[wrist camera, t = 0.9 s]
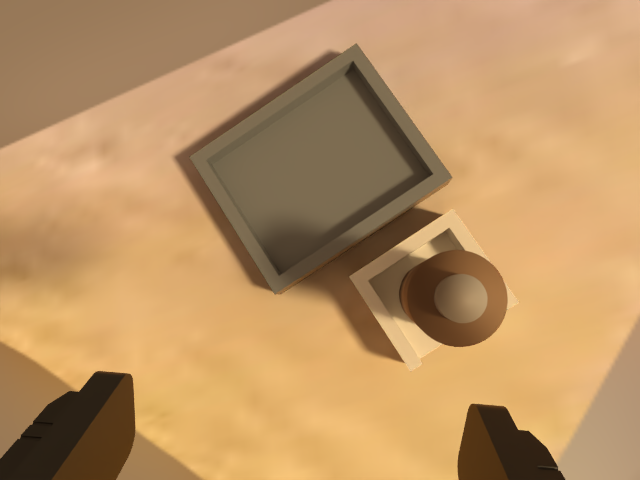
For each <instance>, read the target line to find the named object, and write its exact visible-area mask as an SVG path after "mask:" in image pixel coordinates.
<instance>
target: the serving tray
mask: <svg viewBox="0 0 640 480" xmlns="http://www.w3.org/2000/svg"><path fill="white" fill-rule="evenodd" d="M190 159H191V161H192V162H193V164H194V165H195V167H196V169H197V170H198V172H199V173H200V175H201V177H202V178H203V180H204V181H205V183H206V185H207V186H208V188H209V190H210V191H211V193H212V194H213V196H214V198H215V199H216V201H217V202H218V204H219V206H220V207H221V209H222V210H223V212H224V214H225V215H226V217H227V218H228V220H229V222H230V223H231V225H232V227H233V228H234V230H235V231H236V233H237V235H238V236H239V238H240V239H241V241H242V243H243V244H244V246H245V247H246V249H247V251H248V252H249V254H250V255H251V257H252V259H253V260H254V262H255V263H256V265H257V267H258V268H259V270H260V272H261V273H262V275H263V276H264V278H265V280H266V281H267V283H268V284H269V286H270V288H271V289H272V291H273V292H274V294H282V293H283V292H285V291H286V290H288V289H289V288H291V287H292V286H294V285H295V284H297V283H298V282H300V281H302V280H303V279H305V278H306V277H308V276H309V275H311V274H312V273H314V272H315V271H317V270H318V269H320V268H321V267H323V266H324V265H326V264H327V263H329V262H330V261H332V260H333V259H335V258H337V257H338V256H340V255H341V254H343V253H344V252H346V251H347V250H349V249H350V248H352V247H353V246H355V245H356V244H358V243H359V242H361V241H362V240H364V239H365V238H367V237H368V236H370V235H372V234H373V233H375V232H376V231H378V230H379V229H381V228H382V227H384V226H385V225H387V224H388V223H390V222H391V221H393V220H394V219H396V218H397V217H399V216H400V215H402V214H404V213H405V212H407V211H408V210H410V209H411V208H413V207H414V206H416V205H417V204H419V203H420V202H422V201H423V200H425V199H426V198H428V197H429V196H431V195H432V194H434V193H435V192H437V191H439V190H440V189H442V188H443V187H445V186H446V185H448V183H449V182H450V180H451V179H452V176H451V175H450V173H449V172H448V170H447V169H446V168H445V166H444V165H443V163H442V162H441V161H440V159H439V158H438V156H437V155H436V154H435V152H434V151H433V149H432V148H431V147H430V145H429V144H428V142H427V141H426V140H425V138H424V137H423V135H422V134H421V133H420V131H419V130H418V128H417V127H416V126H415V124H414V123H413V121H412V120H411V119H410V117H409V116H408V114H407V113H406V112H405V110H404V109H403V107H402V106H401V105H400V103H399V102H398V100H397V99H396V98H395V96H394V95H393V93H392V92H391V91H390V89H389V88H388V86H387V85H386V84H385V82H384V81H383V79H382V78H381V77H380V75H379V74H378V72H377V71H376V70H375V68H374V67H373V65H372V64H371V63H370V61H369V60H368V58H367V57H366V56H365V54H364V53H363V51H362V50H361V49H360V47H359V46H358V44H357V43H356V44H355V45H353V46H352V47H350V48H349V49H347V50H346V51H344V52H343V53H342V54H340V55H339V56H337V57H336V58H334V59H333V60H331V61H330V62H328V63H327V64H325V65H324V66H322V67H321V68H319V69H318V70H316V71H315V72H314V73H312V74H311V75H309V76H308V77H306V78H305V79H303V80H302V81H300V82H299V83H297V84H296V85H294V86H293V87H291V88H290V89H289V90H287V91H286V92H284V93H283V94H281V95H280V96H278V97H277V98H275V99H274V100H272V101H271V102H269V103H268V104H266V105H265V106H263V107H262V108H261V109H259V110H258V111H256V112H255V113H253V114H252V115H250V116H249V117H247V118H246V119H244V120H243V121H241V122H240V123H238V124H237V125H236V126H234V127H233V128H231V129H230V130H228V131H227V132H225V133H224V134H222V135H221V136H219V137H218V138H216V139H215V140H213V141H212V142H210V143H209V144H208V145H206V146H205V147H203V148H202V149H200V150H199V151H197V152H196V153H194V154H193V155H191V156H190Z"/></svg>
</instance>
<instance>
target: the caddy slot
mask: <svg viewBox="0 0 640 480" xmlns="http://www.w3.org/2000/svg"><path fill="white" fill-rule="evenodd" d="M450 250H464V251H469V252H473V253H475V254H478V255H480V256H482V257H483V258H485V259H486V260H488V261H489V262H490V263H491V261H490V260H489V259H488V257H487V256H486V254H485V253H484V251H483V250H482V249H481V247H480V246H479V244H478V243H477V242H476V240H475V239H474V237H473V236H472V235H471V233H470V232H469V230H468V229H467V227H466V226H465V225H464V223H463V222H462V220H461V219H460V218H459V216H458V215H457V213H456V212H455V210H454V209H451V210H450V211H448V212H447V213H445V214H444V215H442V216H441V217H439V218H438V219H436V220H434V221H433V222H431V223H430V224H428V225H427V226H425V227H424V228H422V229H421V230H419V231H418V232H416V233H415V234H413V235H412V236H410V237H408V238H407V239H405V240H404V241H402V242H401V243H399V244H398V245H396V246H395V247H393V248H392V249H390V250H389V251H387V252H386V253H384V254H382V255H381V256H379V257H378V258H376V259H375V260H373V261H372V262H370V263H369V264H367V265H366V266H364V267H363V268H361V269H360V270H358V271H356V272H355V273H353V274H352V275H350V276H349V278H350V279H351V281H352V282H353V284H354V285H355V287H356V289H357V290H358V292H359V293H360V295H361V296H362V298H363V299H364V301H365V302H366V304H367V305H368V307H369V308H370V310H371V312H372V313H373V315H374V316H375V318H376V319H377V321H378V322H379V324H380V325H381V327H382V328H383V330H384V331H385V333H386V335H387V336H388V338H389V339H390V341H391V342H392V344H393V345H394V347H395V348H396V350H397V351H398V353H399V354H400V356H401V358H402V359H403V361H404V362H405V364H406V365H407V367H408V368H409V370H410V371H413V370H414V369H416V368H418V367H419V366H421V365H422V362H421V360H420V359H421V358H422V357H424V356H425V355H427V354H428V353H430V352H431V351H433V350H435V349H436V348H438V347H439V346H441V345H442V343H439V342H437V341H435V340H433V339H432V338H430V337H429V336H428V335H426V334H425V333H424V332H423V331H422V330H421V329H420V328H419V327H418V326H417V325H416V324H415V323H414V322H413V321H412V320H411V319H410V318H409V317H408V316H407V315H406V313H405V312H404V310H403V309H402V306H401V303H400V298H399V290H400V285H401V282H402V280H403V278H404V276H405V275H406V274H407V272H408V271H410V270H411V269H412V268H413V267H415V266H417V265H418V264H420V263H422V262H424V261H425V260H427V259H429V258H431V257H432V256H434V255H436V254H439V253H441V252H445V251H450ZM491 264H492V263H491ZM492 265H493V264H492ZM503 281H504V280H503ZM504 283H505V281H504ZM505 286H506V289H507V297H508V303H507V310H508V309H510V308H511V307H513V306H515V305H516V304H518V303H519V301H518V300H517V298H516V297H515V295H514V294H513V293H512V291H511V290H510V288H509V287H508V285H507V284H506V283H505Z"/></svg>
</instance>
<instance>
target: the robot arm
mask: <svg viewBox="0 0 640 480" xmlns="http://www.w3.org/2000/svg"><path fill="white" fill-rule="evenodd" d="M134 437H135V410H134V389H133V378H132V376H131V374H127V373H115V372H103V371H97V372H95V373H94V374H93V375H92V377H91V378H90V379H89V380H88V381H87V383H86V384H85V385H84V386H83V388H82V389H81V390H80V391H79V392H74V391H69V392H67V393H66V394H64V395H62V396H61V397H59V398H58V399H56V400H55V401H53V402H52V403H50V404H48V405H47V406H46V407H45V409H44V410H43V411H42V412H41V413H40V414H39V416H38V417H37V418H36V419H35V420H34V421H33V424H32V425H30V426H29V427H28V428H27V429H26V430H25V432H24V433H23V434H22V435H21V438H20V439H17V441H16V442H15V443H14V444H13V445H12V446H11V447H10V449H9V450H8V451H7V452H6V453H5V454H4V455H3V457H2V458H1V459H0V480H116V478H117V477H118V475H119V473H120V471H121V469H122V467H123V466H124V464H125V462H126V460H127V458H128V456H129V454H130V452H131V449H132V446H133V441H134ZM458 478H459V480H565V478H564V477H563V475H562V473H561V471H558V466H557V464H556V463H555V461H554V459H553V458H552V456H551V454H550V452H549V451H548V449H547V448H546V447H545V446H544V445H543V444H542V443H541V442H540V441H539V440H538V439H537V438H536V437H535V436H533V435H532V434H531V433H530V432H529V431H523V430H518V429H517V427H516V425H515V423H514V421H513V419H512V417H511V416H510V414H509V412H508V410H507V409H506V407H504V406H494V405H482V404H471V405H470V407H469V409H468V413H467V417H466V422H465V427H464V432H463V436H462V441H461V446H460V451H459V456H458Z"/></svg>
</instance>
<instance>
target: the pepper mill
mask: <svg viewBox="0 0 640 480" xmlns="http://www.w3.org/2000/svg"><path fill="white" fill-rule="evenodd" d="M399 298H400V303H401V306H402V309H403V310H404V312H405V313H406V315H407V316H408V317H409V318H410V319H411V320H412V321H413V322H414V323H415V324H416V325H417V326H418V327H419V328H420V329H421V330H422V331H423V332H424V333H425V334H426V335H428V336H429V337H430V338H432V339H433V340H435V341H437V342H439V343H442V344H445V345H448V346H454V347H465V346H471V345H475V344H477V343H480V342H482V341H484V340H486V339H487V338H488V337H490V336H491V335H492V334H493V333H494V332H495V331H496V330H497V329H498V328H499V326H500V325H501V323H502V321H503V319H504V317H505V314H506V310H507V303H508V297H507V289H506V286H505V283H504V281H503V278H502V276H501V275H500V273H499V271H498V270H497V269H496V268H495V267H494V266H493V265H492V264H491V263H490V262H489V261H488V260H486V259H485V258H483V257H482V256H480V255H478V254H475V253H473V252H469V251H464V250H450V251H445V252H441V253H439V254H436V255H434V256H432V257H431V258H429V259H427V260H425V261H424V262H422V263H420V264H418V265H417V266H415V267H413V268H412V269H411V270H410V271H408V272H407V274H406V275H405V276H404V278H403V280H402V282H401V285H400V290H399Z"/></svg>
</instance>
